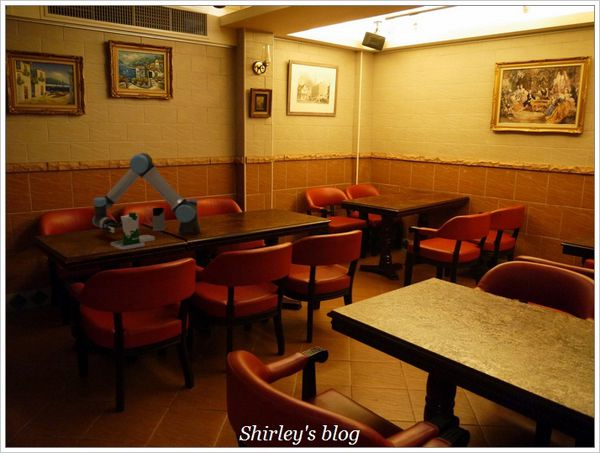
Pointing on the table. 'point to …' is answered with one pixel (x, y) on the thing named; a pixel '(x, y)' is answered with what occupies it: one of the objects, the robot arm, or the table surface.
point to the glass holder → (158, 219)
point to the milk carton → (130, 229)
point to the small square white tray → (146, 238)
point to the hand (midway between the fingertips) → (124, 228)
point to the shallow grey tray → (120, 245)
